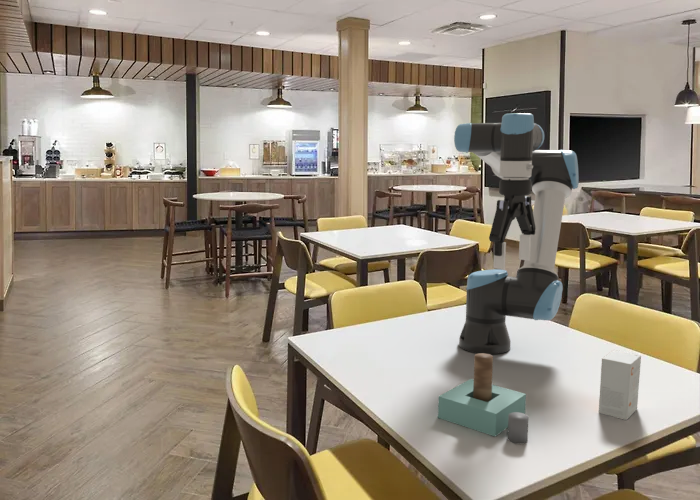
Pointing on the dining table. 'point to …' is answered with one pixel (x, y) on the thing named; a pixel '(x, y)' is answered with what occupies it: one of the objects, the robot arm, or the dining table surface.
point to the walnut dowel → (483, 377)
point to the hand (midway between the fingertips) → (512, 264)
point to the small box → (619, 384)
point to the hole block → (480, 408)
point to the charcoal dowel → (518, 427)
